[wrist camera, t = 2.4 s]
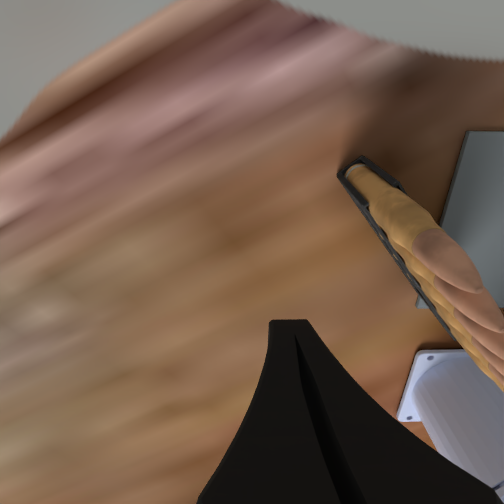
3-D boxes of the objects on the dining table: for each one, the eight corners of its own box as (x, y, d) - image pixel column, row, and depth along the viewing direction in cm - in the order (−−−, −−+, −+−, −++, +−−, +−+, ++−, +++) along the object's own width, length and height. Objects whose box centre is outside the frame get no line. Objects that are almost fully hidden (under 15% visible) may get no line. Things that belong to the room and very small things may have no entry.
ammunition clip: (334, 174, 19) (431, 286, 9) (362, 153, 19) (501, 247, 8) (417, 293, 23) (555, 473, 13) (442, 279, 23) (609, 454, 12)
